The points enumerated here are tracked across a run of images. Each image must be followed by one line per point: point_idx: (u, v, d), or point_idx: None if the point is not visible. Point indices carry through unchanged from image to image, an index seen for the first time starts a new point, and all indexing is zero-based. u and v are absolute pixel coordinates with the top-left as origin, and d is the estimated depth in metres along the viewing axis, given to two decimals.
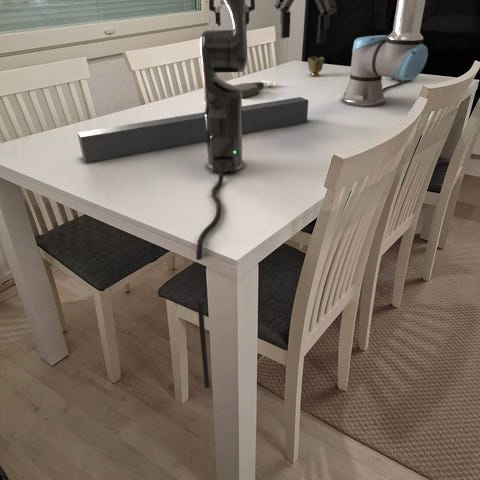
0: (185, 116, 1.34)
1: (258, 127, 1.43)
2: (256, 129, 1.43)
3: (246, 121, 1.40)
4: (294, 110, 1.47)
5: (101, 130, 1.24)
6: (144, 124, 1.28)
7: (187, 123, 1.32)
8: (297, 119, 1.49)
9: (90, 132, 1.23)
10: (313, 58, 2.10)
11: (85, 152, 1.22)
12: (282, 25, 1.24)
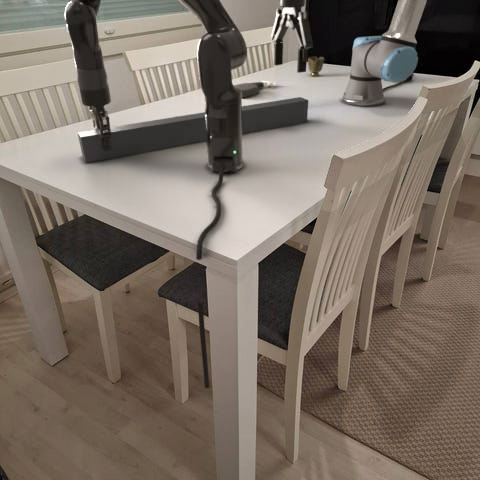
0: (185, 116, 1.34)
1: (258, 127, 1.43)
2: (256, 129, 1.43)
3: (246, 121, 1.40)
4: (294, 110, 1.47)
5: None
6: (144, 124, 1.28)
7: (187, 123, 1.32)
8: (297, 119, 1.49)
9: (90, 132, 1.23)
10: (313, 58, 2.10)
11: (85, 152, 1.22)
12: None
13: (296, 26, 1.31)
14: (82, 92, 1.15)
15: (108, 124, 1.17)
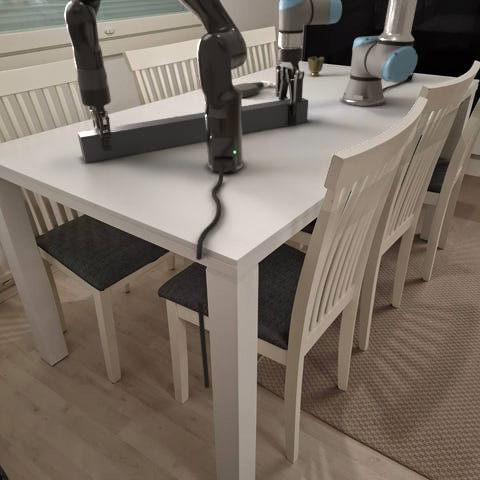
0: (185, 116, 1.34)
1: (258, 127, 1.43)
2: (256, 129, 1.43)
3: (246, 121, 1.40)
4: None
5: None
6: (144, 124, 1.28)
7: (187, 123, 1.32)
8: (297, 119, 1.49)
9: (90, 132, 1.23)
10: (313, 58, 2.10)
11: (85, 152, 1.22)
12: None
13: (291, 82, 1.41)
14: (82, 92, 1.15)
15: (108, 124, 1.17)
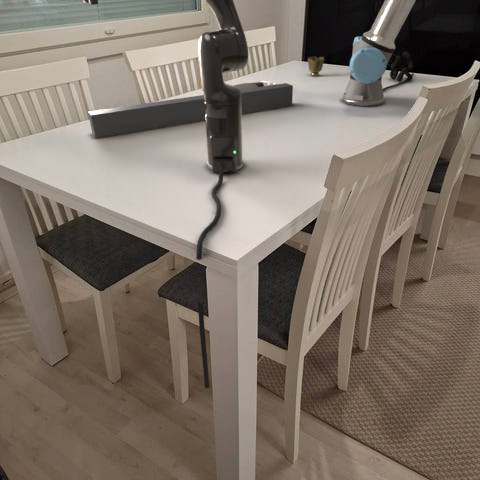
0: (182, 98, 1.51)
1: (247, 109, 1.61)
2: (246, 111, 1.61)
3: None
4: (280, 94, 1.64)
5: (108, 110, 1.41)
6: (146, 104, 1.46)
7: (184, 105, 1.49)
8: (283, 102, 1.66)
9: (99, 111, 1.40)
10: (313, 58, 2.10)
11: (95, 128, 1.39)
12: None
13: None
14: None
15: None
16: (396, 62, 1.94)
